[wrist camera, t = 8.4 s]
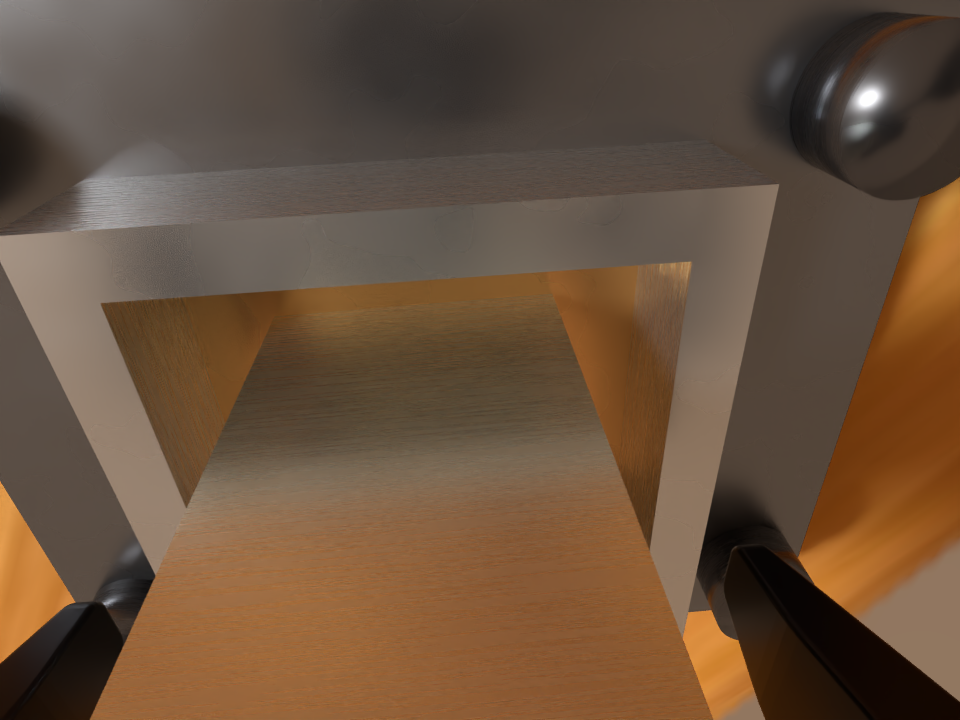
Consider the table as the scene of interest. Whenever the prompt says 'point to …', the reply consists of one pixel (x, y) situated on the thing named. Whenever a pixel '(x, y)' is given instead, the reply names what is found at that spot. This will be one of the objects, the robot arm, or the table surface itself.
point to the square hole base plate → (457, 233)
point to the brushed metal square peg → (409, 539)
